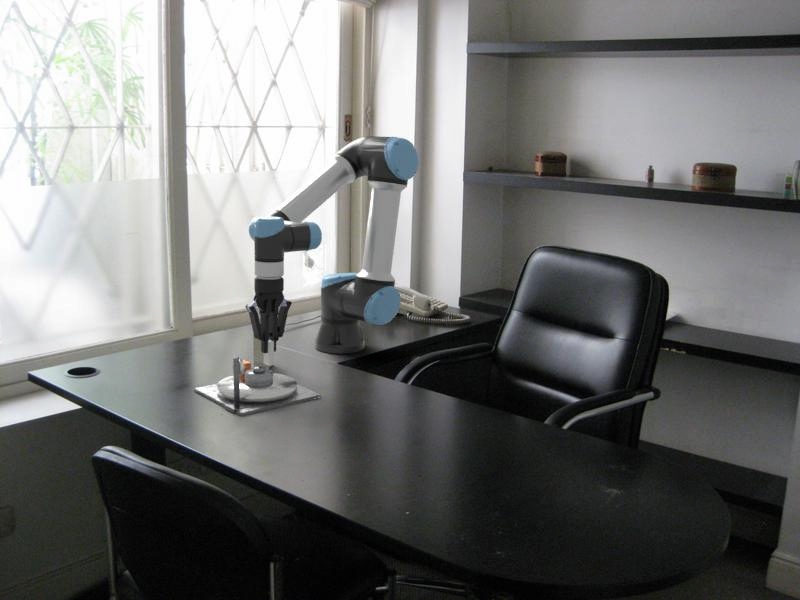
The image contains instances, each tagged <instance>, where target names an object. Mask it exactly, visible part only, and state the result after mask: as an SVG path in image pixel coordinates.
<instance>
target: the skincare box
mask: <svg viewBox="0 0 800 600" xmlns="http://www.w3.org/2000/svg"><path fill="white" fill-rule="evenodd" d="M252 333H253V332H252ZM269 339H270V338H269ZM252 341H253V344H252V345H253V367H255V366H263V367H265V369H270V368H271V366H272V365H271V366H268V365H266V364H264V353H262V351H261V340H258V339H256V338H255V337H254V333H253V340H252Z"/></svg>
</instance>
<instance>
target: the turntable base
mask: <svg viewBox="0 0 800 600" xmlns="http://www.w3.org/2000/svg"><path fill="white" fill-rule="evenodd" d="M217 384H218V383H214V384H209V385H204V386H199V387H194V392H195V393H198V394H199V395H201V396H203V397H205V398H207V399H209V400H210V401H212V402H214V403H216V404H218V405H219V406H221V407H223V408H225V405H228V404H233V403H234V400H231V399H227V398H224V397H222V396H221V395H219V394H218V392H217ZM318 397H322V395H321V393H319V392H316V391H314V390H311V389H309V388H307V387H304V386H303V385H300V384H298V383H297V391H296V392H295V393H294V394H293V395H291V396H289V397H286V398H283V399H279V400H274V401H266V402H242V401H240V402H241V403H243V404H245V405H247V406H248V407H247V408H242V409H238V410H236V413H235V414H236V415H238V416H240V417H242V416H243V417H244V416H248V415H251V414H252V415H253V414H256V413H259V412H265V411H269V410H270V411H271V410H274V409H279V408H282V407H283V408H284V407H286V406H291V405H296V404H299V403H298V402H300V403H304V402H307V401H306V400H309V401H312V400H311V399H313V400H315V399H314V398H317V399H319V398H318ZM303 401H304V402H303ZM295 403H296V404H295Z"/></svg>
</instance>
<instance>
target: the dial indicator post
mask: <svg viewBox="0 0 800 600" xmlns="http://www.w3.org/2000/svg"><path fill="white" fill-rule="evenodd" d="M232 360H233V361H232V370H233V371H232V373H233V378H234V403H233V404H228V405H225V407H224V408H225V410H226V411H228V412H230V413H232V414H233V415H234V414H236V410H238V409H242V408H247V407H248V406H247V405H245V404H243V403H241V402H240V381H239V376H240V375H243V374H244V372H245V366H244V363H243V360H242V358H240V357H239V356H233V358H232Z"/></svg>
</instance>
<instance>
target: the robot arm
mask: <svg viewBox="0 0 800 600" xmlns="http://www.w3.org/2000/svg"><path fill="white" fill-rule="evenodd" d="M418 168H419V155H418V151H417V149H416V148H415V145H414V143H412V142H411V141H410V140H408V139H407V138H403V137H398V136H375V135H367V136H361V137H359V138H356V139H355V140H353V141H351V142H349V143H348V144H346V145H345V146H343V147H342V148H340V149H339V150H338V151H337V152H336V153H335V154H333V155H332V156H331V157H330V159H329V163H328V164H327V165H326V166H325V167H323V168H322V169H321V170H319V172H317V173H316V174H315V175H314V176H312V177H311V178H310V179H309V180H308V181H307V182H306V183H304V184H303V185H302V186H301V187H300V188H298V189H297V190H296V191H295V192H294V193H293V194H291V195H290V196H289V197H288V198H287V199H286V200H284V201H283V202H281V204H279V206H277V207H276V208H274V210H272V211H271V212H270V213H268V215H266V216H264V215H261V216H256V217H254V218H253V219H252V220H251V221H250V223H249V226H248V234H249V236H250V239H252V241H253V242H254V244H253V245H254V275H255V277H254V279H253V280H254V282H253V283H254V286H253V287H254V297H253V300H252V302H251V303H250V304H246V305H245V309H246V310H247V312H248V315H249V319H250V323H251V327H252V333H254V337H255V338H256V339H258V340H261V351H262V353H264V364H266V365H268V366H274V365H275V358H274V357H275V352H276V351H277V342H279V340H280V338H283V336H284V334H285V333H284V332H285V328H286V323H287V317H288V314H289V310H290V308H291V306H292V304H293V303H292V300H291V301H290V300H287V299H286V298H285V295H284V292H283V291H284V287H285V285H284V284H285V281H284V280H285V279H284V277H283V276H284V275H285V269H284V268H285V266H284V265H285V253H292V252H294V253H295V252H302V251H303V252H304V251H305V252H308V251H312V250H315V249H318V248H319V246H321V243H322V241H323V239H322V238H323V237H322V236H323V231H322V229H321V228H320V226H319V224H317V223H316V222H313V221H305V220H306V219H307V218H308V217H309V216H310V215H311V214H313V213H314V212H315V211H316V210H318V208H320V207H321V206H322V205H323V204H324V203H325V202H326V201H327V200H329V199H330V198H331V197H332V196H333V195H334V194H336V193H337V192H338V191H339V190H340V189H341V188H342V187H343V186H345V185H346V184H353V183H354V182H355V181H356V180H357V179H360V178H361V177H367V183H368V184H369V186H370V187H371V192H370V198H369V199H370V201H369V209H368V217H367V224H366V231H365V241H364V249H363V257H362V258H363V259H362V265H361V270H360V271H359V272H340V273H339V272H338V273H332V274H326V275H324V276H323V278H322V279H321V287H320V305H321V306H320V309H321V311H320V315H321V316H320V318H321V320H320V326H319V328H318V331H317V335H316V337H315V341H314V346H315V349H316V350H317V351H320V352H323V353H327V354H338V355H340V354H343V355H344V354H353V353H358V352H361V351H362V350H364V349H365V338H364V336H363V332H362V329H361V325H360V321H362V322H364V323H365V322H366V323H367V324H370V325H373V324H374V325H380V326H382V325H386V324H388V323H389V322H391V321H392V320H393V319H394V318H395V317H396V315H398V312H399V310H400V307H401V303H402V297H401V294H400V292H399V290H398V289H397V288H396V287H395V285H396V284H395V283H396V279H395V277H394V276H393V275H392V265H393V260H394V259H393V257H394V252H395V251H394V250H395V242H396V237H397V236H396V235H397V227H398V226H397V225H398V219H399V210H400V205H401V194H402V192H403V190H405V189H406V188H407V187H408V184H409V183H408V182H409V180H411V179H412V178H414V176H415V174H417V172H418ZM259 317H260V318H259ZM269 338H270V339H269Z"/></svg>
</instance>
